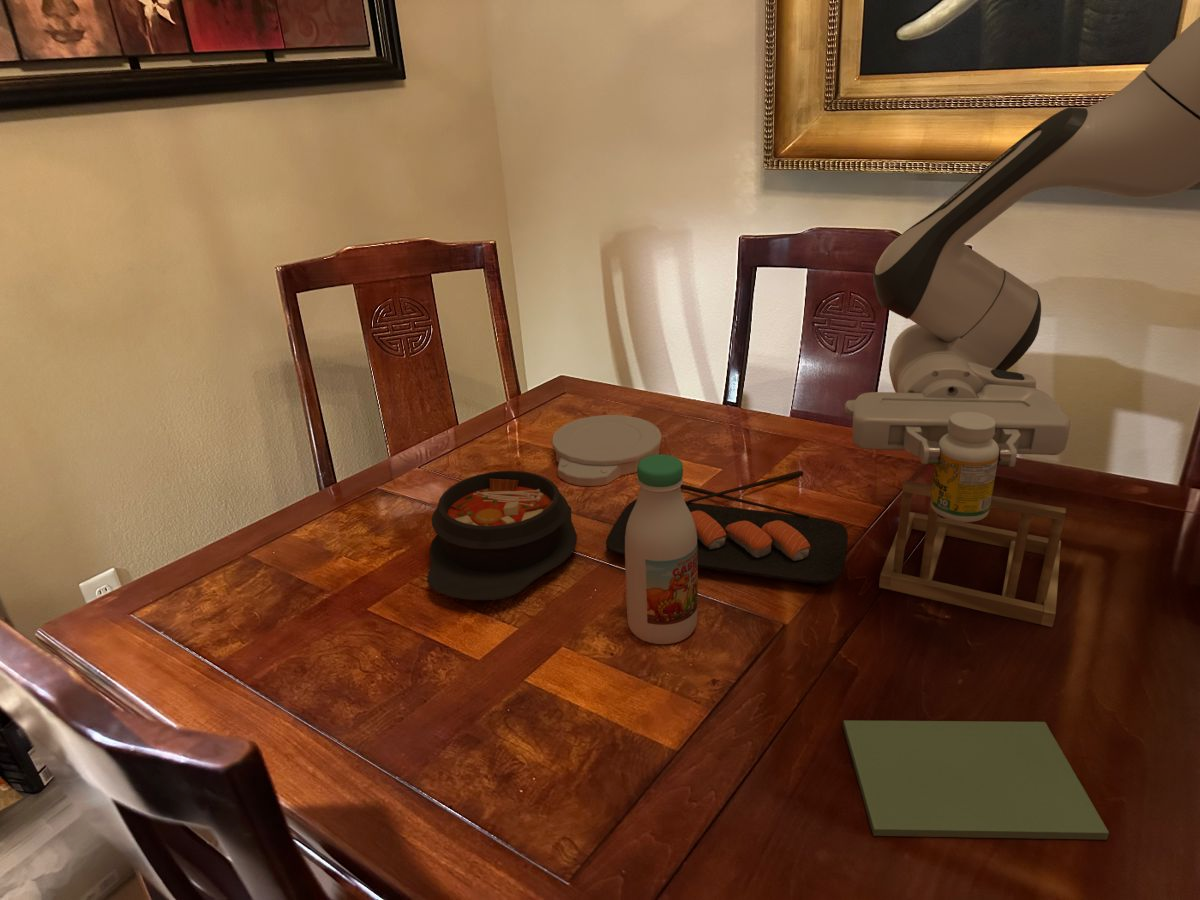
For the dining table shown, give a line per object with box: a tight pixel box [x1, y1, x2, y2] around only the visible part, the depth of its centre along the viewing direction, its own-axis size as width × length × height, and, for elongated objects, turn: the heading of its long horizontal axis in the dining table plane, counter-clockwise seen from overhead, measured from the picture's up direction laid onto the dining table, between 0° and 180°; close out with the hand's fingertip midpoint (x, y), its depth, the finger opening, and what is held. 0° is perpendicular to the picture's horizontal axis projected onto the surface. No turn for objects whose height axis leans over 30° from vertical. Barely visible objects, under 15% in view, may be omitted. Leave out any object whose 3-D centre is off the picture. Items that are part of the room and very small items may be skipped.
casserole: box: [426, 470, 578, 601], centre depth 105 cm, size 25×19×8 cm
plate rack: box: [878, 480, 1067, 628], centre depth 97 cm, size 16×18×13 cm
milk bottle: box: [624, 453, 699, 645], centre depth 89 cm, size 8×8×20 cm
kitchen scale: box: [551, 414, 663, 487], centre depth 131 cm, size 17×20×3 cm
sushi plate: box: [605, 470, 849, 585], centre depth 112 cm, size 29×30×4 cm
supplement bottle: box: [929, 412, 999, 523], centre depth 80 cm, size 5×5×10 cm
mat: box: [842, 719, 1110, 841], centre depth 72 cm, size 18×12×1 cm, turn 87°
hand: (969, 459), depth 79 cm, fingers closed on supplement bottle, 5 cm apart
